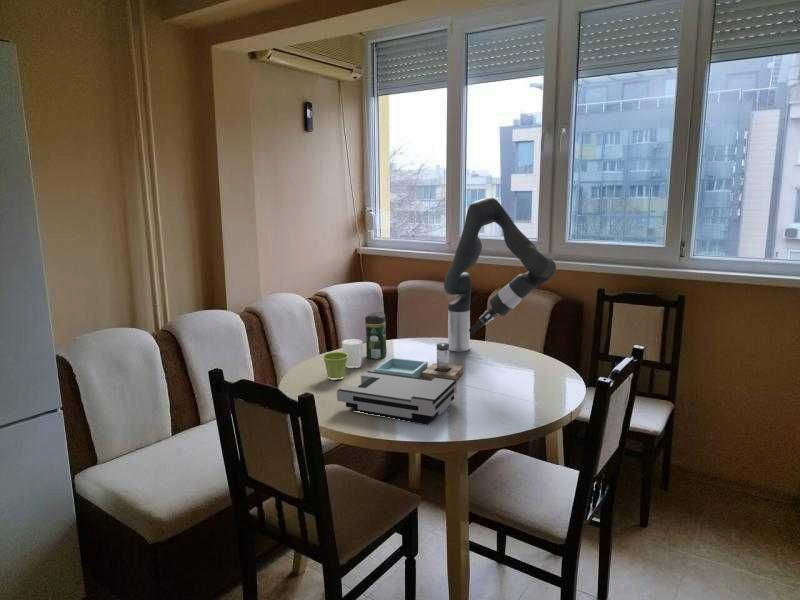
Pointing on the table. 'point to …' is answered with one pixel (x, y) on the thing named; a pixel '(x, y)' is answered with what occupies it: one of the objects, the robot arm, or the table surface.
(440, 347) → the bottle with dark cap
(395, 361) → the parts tray
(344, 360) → the plant pot
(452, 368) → the brown square frame
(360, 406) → the game console
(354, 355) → the white cup
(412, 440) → the table surface
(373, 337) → the coffee jar
